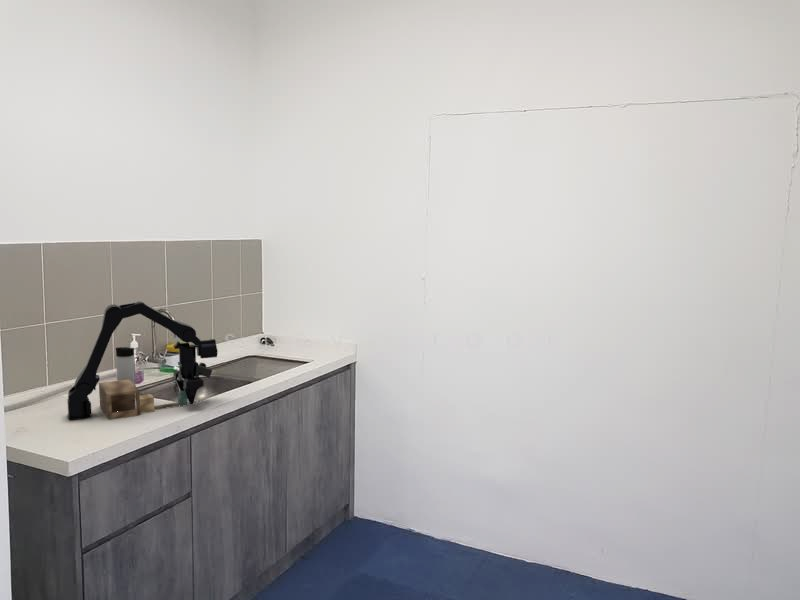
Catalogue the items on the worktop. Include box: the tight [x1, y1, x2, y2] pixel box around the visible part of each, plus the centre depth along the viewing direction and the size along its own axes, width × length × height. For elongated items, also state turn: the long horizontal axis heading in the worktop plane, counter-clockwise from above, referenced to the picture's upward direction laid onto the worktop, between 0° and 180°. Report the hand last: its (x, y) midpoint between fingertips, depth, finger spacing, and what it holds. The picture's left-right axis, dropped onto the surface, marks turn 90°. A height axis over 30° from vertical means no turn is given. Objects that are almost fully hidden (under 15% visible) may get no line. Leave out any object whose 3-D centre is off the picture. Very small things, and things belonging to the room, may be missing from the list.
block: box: [140, 390, 188, 414], centre depth 225 cm, size 17×5×5 cm, turn 124°
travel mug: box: [115, 346, 137, 399], centre depth 235 cm, size 6×7×20 cm
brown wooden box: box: [98, 379, 141, 420], centre depth 221 cm, size 10×18×9 cm, turn 33°
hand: (188, 401), depth 230 cm, fingers open, 7 cm apart
